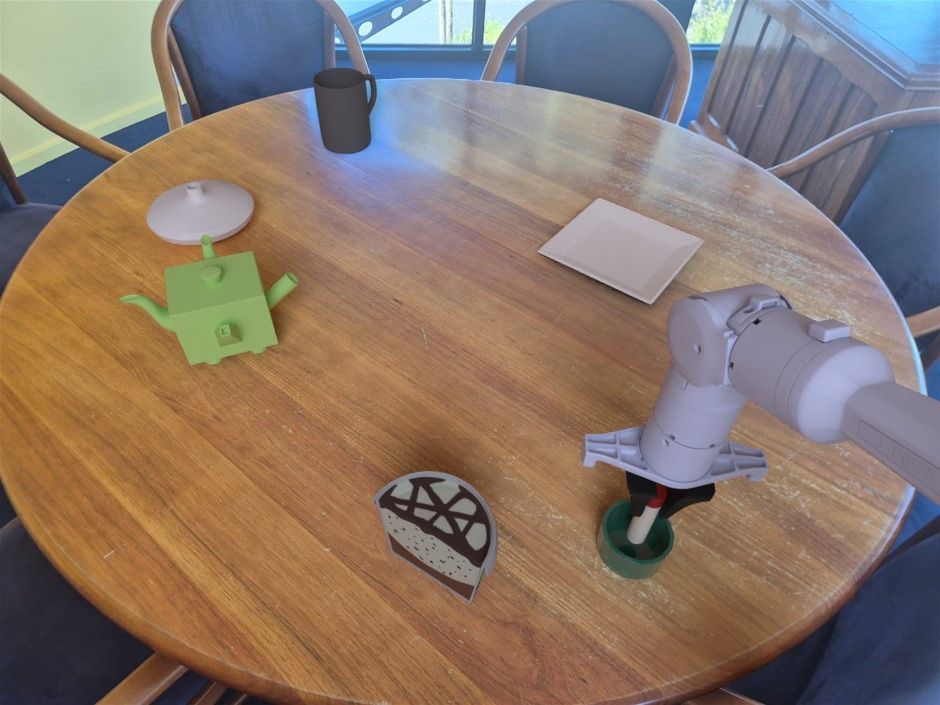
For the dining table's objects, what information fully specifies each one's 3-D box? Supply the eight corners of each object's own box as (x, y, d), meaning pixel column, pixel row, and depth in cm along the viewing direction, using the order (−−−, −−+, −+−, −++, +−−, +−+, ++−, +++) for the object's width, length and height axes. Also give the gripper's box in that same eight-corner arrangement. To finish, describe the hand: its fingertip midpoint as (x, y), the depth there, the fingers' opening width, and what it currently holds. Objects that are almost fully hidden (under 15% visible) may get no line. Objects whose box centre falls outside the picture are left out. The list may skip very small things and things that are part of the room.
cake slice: (516, 559, 61) (526, 509, 54) (484, 613, 57) (489, 566, 50) (415, 498, 65) (411, 444, 58) (379, 544, 62) (369, 492, 54)
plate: (535, 261, 93) (536, 250, 92) (596, 206, 104) (598, 195, 102) (647, 314, 86) (651, 303, 84) (701, 250, 96) (705, 239, 95)
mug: (348, 160, 112) (340, 94, 103) (312, 144, 115) (300, 79, 106) (396, 131, 120) (392, 67, 111) (361, 117, 123) (354, 54, 114)
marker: (649, 540, 60) (672, 495, 54) (633, 548, 60) (654, 503, 54) (637, 524, 61) (658, 478, 55) (621, 531, 61) (641, 485, 55)
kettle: (147, 358, 78) (112, 291, 70) (218, 290, 87) (194, 223, 79) (248, 394, 74) (224, 327, 66) (311, 319, 84) (296, 252, 75)
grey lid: (136, 221, 98) (119, 181, 92) (230, 187, 105) (219, 148, 100) (178, 270, 90) (162, 230, 84) (276, 230, 97) (267, 190, 92)
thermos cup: (678, 562, 61) (688, 546, 59) (621, 591, 59) (629, 575, 57) (638, 506, 65) (646, 489, 63) (583, 530, 63) (589, 514, 61)
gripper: (775, 385, 49) (720, 477, 59) (592, 370, 50) (568, 463, 60) (800, 460, 44) (736, 547, 54) (596, 442, 45) (569, 531, 55)
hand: (648, 508), depth 57 cm, fingers closed on marker, 2 cm apart
